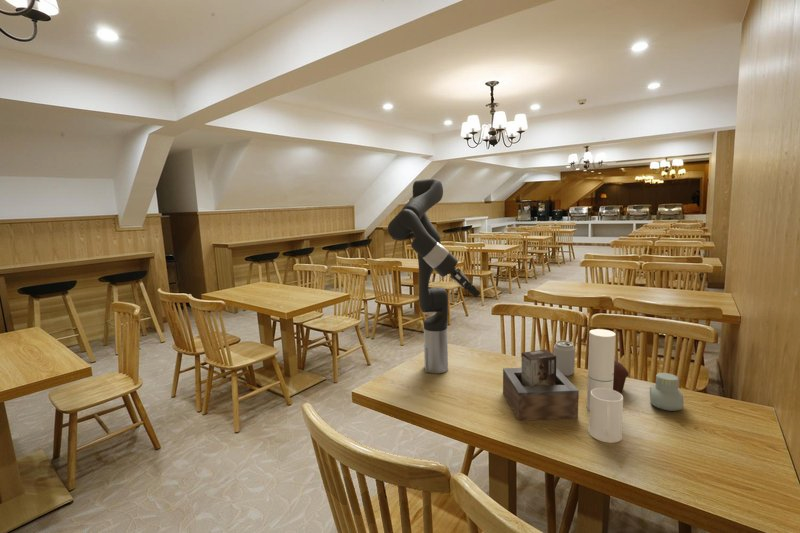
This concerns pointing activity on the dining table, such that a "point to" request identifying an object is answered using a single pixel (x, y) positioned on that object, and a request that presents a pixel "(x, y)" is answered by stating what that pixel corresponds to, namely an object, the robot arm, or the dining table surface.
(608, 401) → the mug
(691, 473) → the dining table surface
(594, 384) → the cylindrical container
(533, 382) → the coffee box
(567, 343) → the can
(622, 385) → the muffin
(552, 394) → the drop box
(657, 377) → the air freshener
